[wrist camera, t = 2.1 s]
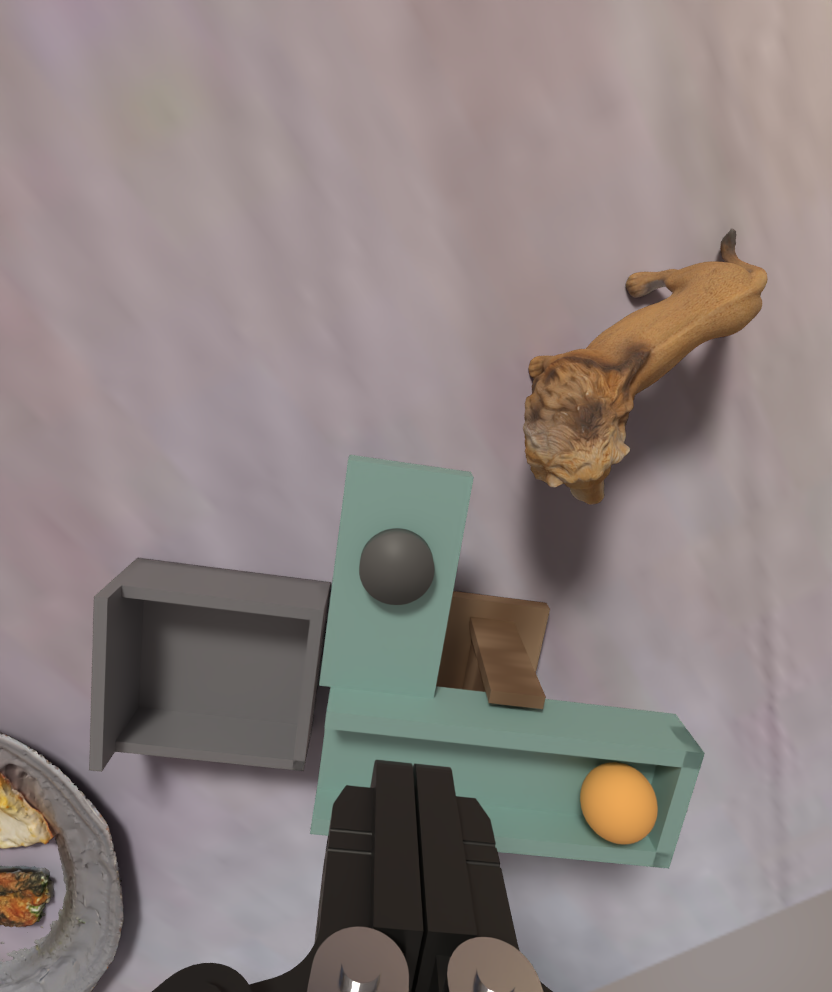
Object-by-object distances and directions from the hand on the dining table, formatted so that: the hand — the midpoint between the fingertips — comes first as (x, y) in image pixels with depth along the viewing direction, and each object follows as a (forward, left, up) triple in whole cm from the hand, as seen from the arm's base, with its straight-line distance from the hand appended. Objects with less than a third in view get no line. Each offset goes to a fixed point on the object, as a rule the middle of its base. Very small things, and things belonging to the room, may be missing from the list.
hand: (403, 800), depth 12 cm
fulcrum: (-6, +9, -21) cm, 24 cm away
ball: (-11, +9, -12) cm, 19 cm away
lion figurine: (-10, -9, -22) cm, 25 cm away
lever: (-6, +4, -15) cm, 16 cm away
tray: (+8, +9, -21) cm, 25 cm away
